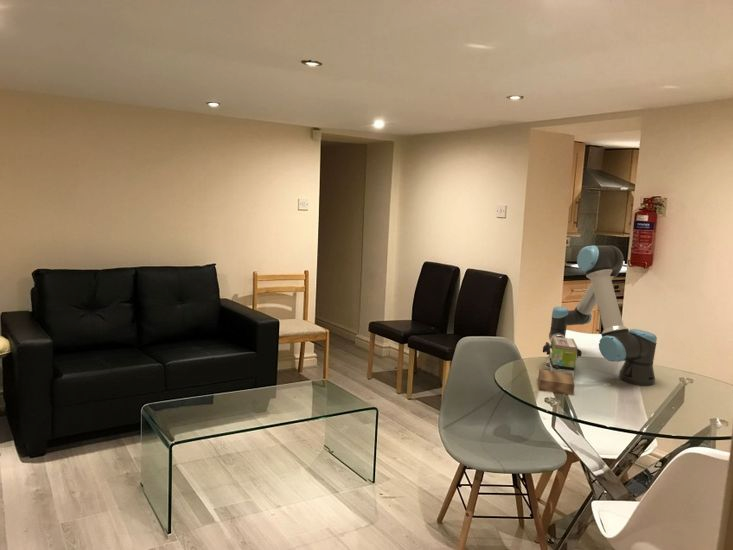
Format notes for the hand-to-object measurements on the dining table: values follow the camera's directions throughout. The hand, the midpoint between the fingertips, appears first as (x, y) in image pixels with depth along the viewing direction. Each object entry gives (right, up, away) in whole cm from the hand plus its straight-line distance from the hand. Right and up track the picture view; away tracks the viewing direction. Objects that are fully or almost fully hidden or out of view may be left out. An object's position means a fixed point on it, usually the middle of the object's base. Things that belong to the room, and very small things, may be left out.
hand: (563, 356), depth 270 cm
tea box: (0, -8, +5) cm, 9 cm away
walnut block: (-8, -12, -11) cm, 18 cm away
